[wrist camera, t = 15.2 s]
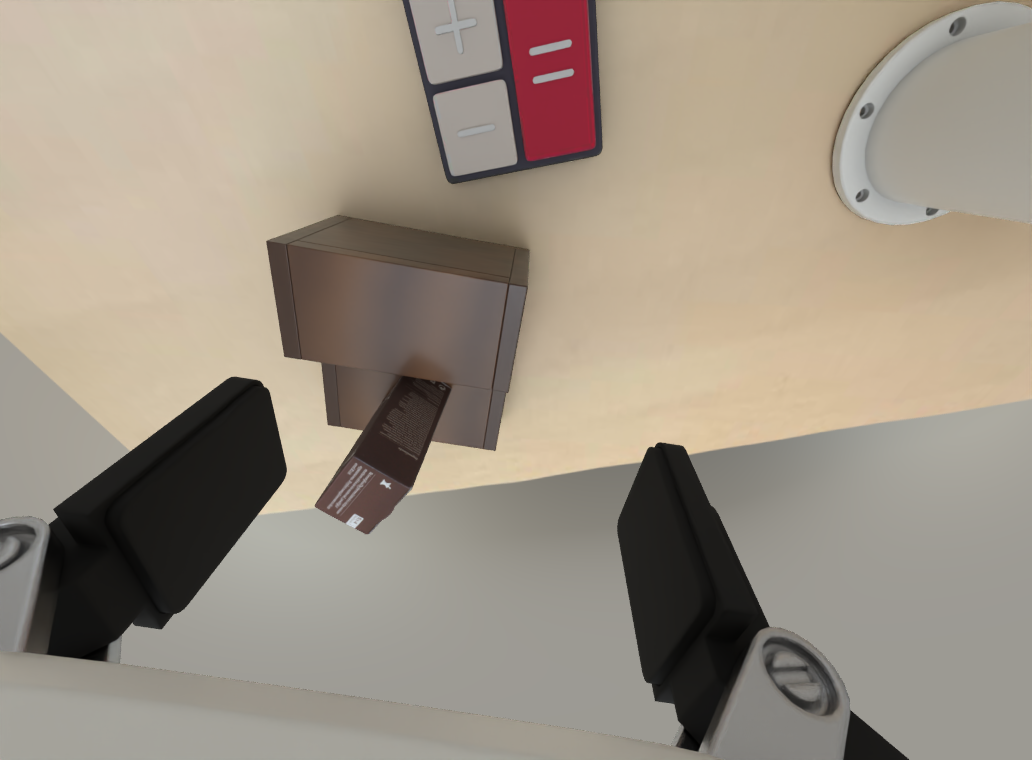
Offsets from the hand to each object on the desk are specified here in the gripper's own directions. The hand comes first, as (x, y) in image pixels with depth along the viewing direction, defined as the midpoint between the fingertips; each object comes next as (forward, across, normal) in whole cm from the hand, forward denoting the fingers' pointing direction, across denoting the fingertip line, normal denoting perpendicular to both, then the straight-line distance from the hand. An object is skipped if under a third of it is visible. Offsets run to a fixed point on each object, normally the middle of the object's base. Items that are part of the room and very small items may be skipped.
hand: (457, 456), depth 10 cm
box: (+21, +7, +14) cm, 26 cm away
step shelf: (+26, +7, +10) cm, 29 cm away
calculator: (+27, +3, -12) cm, 30 cm away
